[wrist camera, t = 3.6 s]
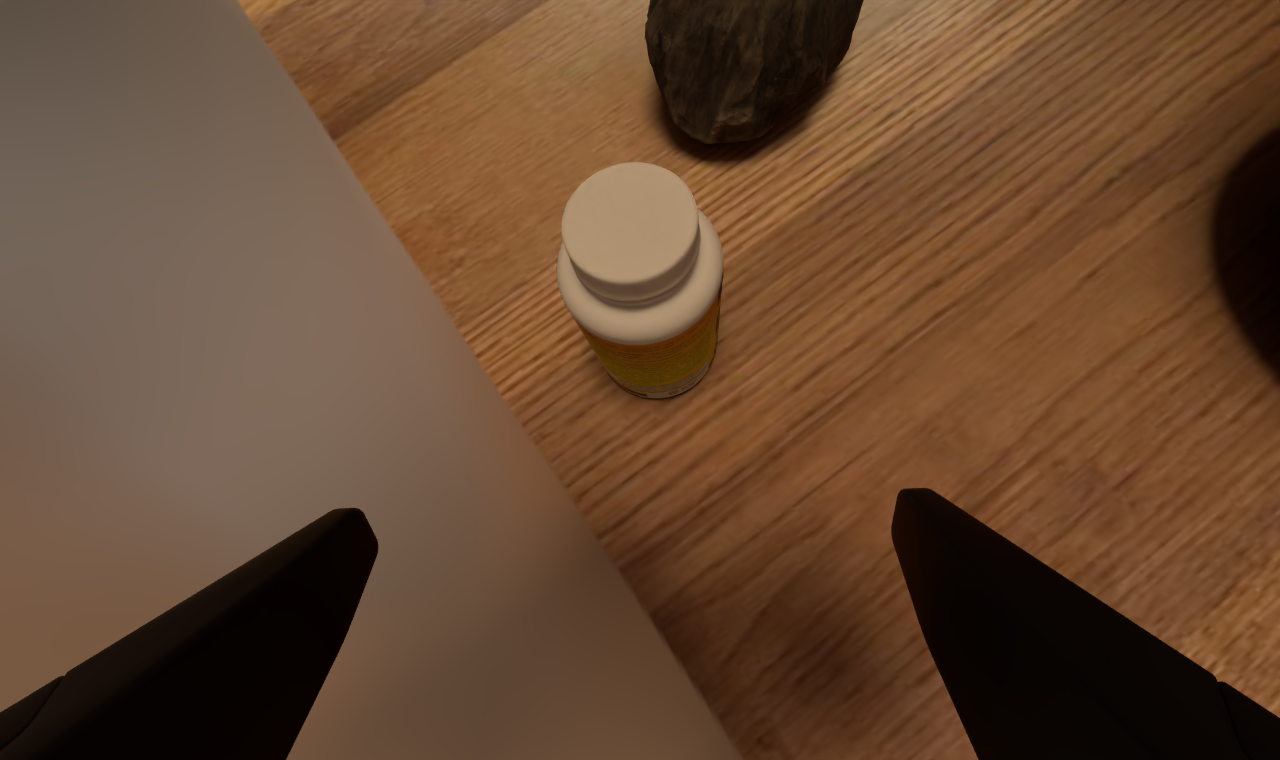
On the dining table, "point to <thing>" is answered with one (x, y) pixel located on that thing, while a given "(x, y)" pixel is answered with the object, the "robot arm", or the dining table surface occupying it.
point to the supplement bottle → (642, 277)
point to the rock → (743, 59)
